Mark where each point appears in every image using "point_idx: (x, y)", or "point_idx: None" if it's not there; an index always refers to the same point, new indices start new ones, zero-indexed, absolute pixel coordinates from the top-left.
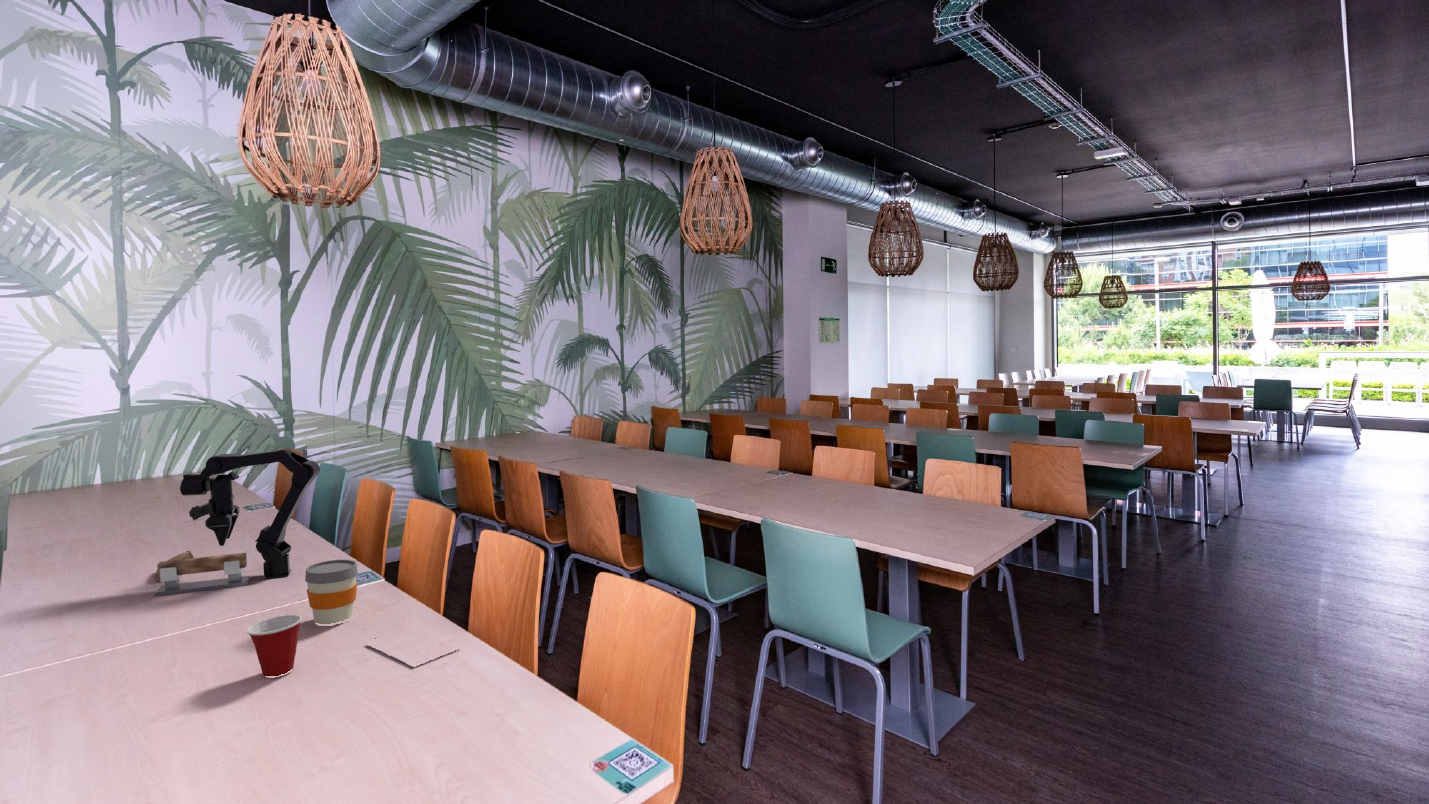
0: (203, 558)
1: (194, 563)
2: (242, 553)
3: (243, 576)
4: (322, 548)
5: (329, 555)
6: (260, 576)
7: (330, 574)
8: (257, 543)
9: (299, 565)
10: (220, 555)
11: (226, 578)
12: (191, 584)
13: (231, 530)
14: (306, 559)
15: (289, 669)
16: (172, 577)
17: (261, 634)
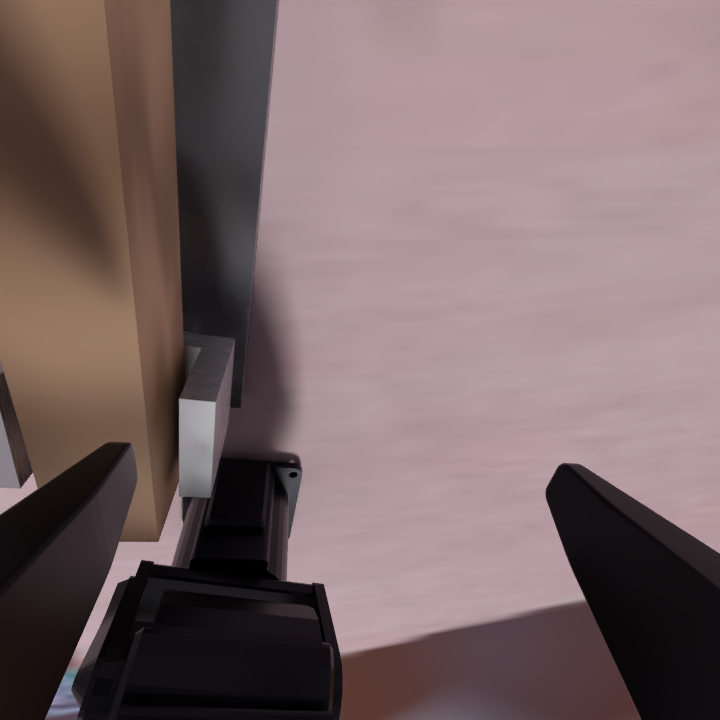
0: (26, 161)
1: None
2: (136, 522)
3: (240, 376)
4: (573, 593)
5: (446, 614)
6: (264, 434)
7: None
8: (117, 690)
9: (366, 551)
10: (132, 360)
11: (242, 288)
12: (182, 19)
13: (601, 621)
14: (448, 564)
15: None
16: None
17: None
